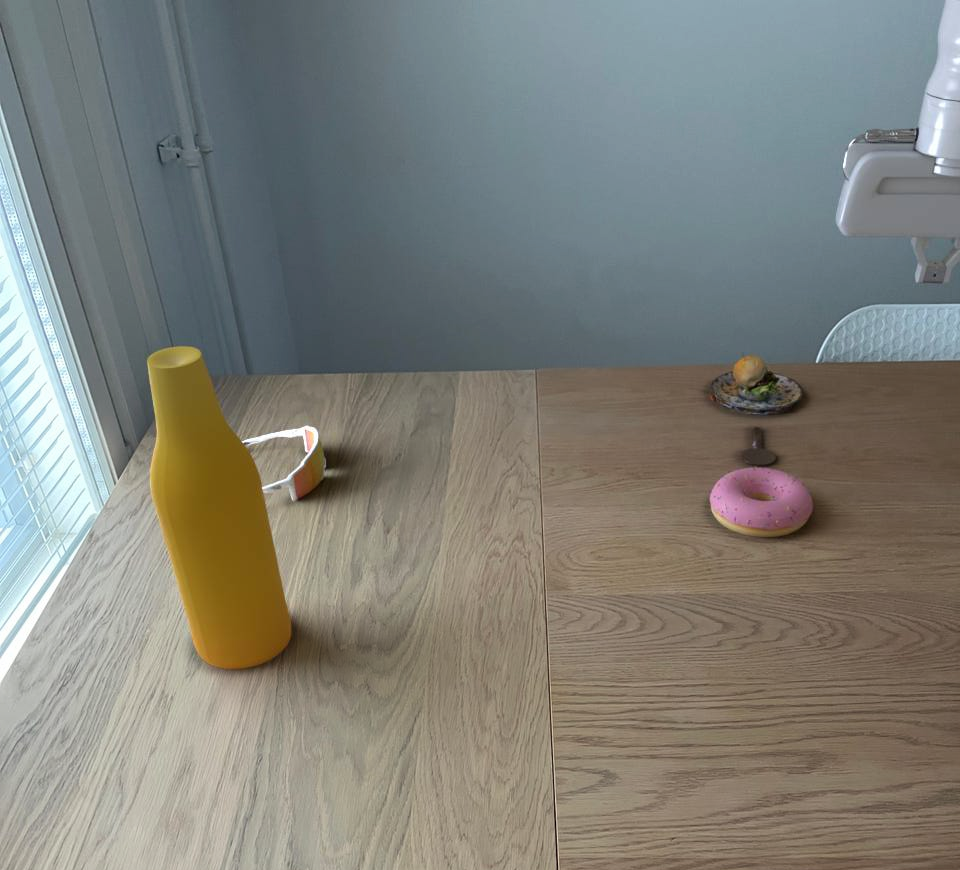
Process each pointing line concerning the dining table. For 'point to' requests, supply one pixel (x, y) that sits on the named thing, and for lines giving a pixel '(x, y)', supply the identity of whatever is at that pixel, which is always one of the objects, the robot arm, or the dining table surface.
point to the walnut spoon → (757, 452)
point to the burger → (755, 389)
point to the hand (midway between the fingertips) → (931, 281)
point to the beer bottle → (213, 519)
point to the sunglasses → (310, 467)
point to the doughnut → (761, 502)
